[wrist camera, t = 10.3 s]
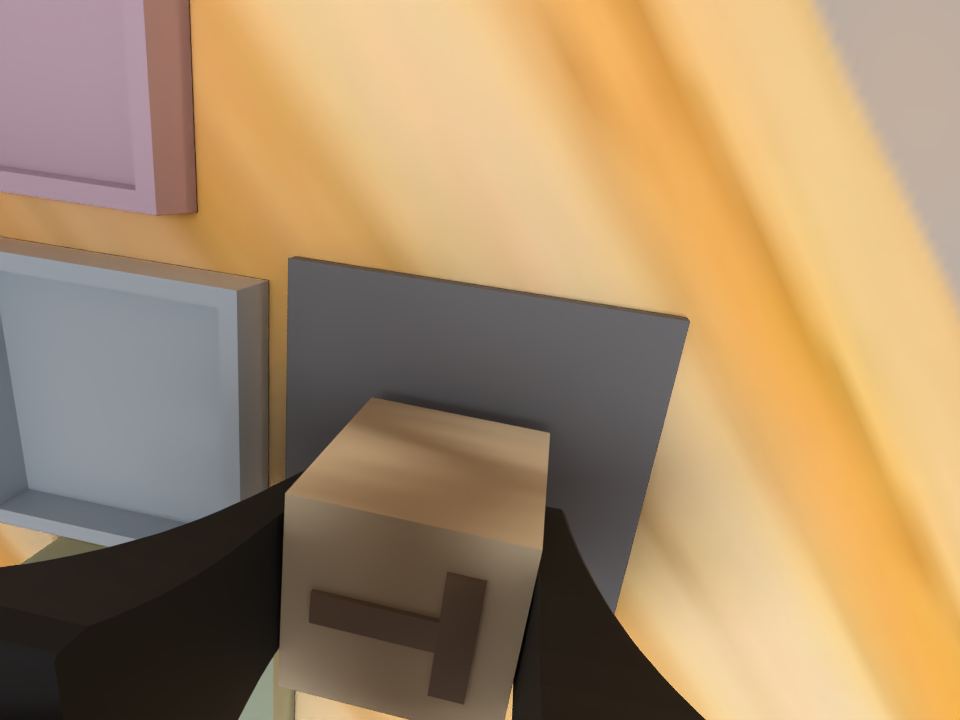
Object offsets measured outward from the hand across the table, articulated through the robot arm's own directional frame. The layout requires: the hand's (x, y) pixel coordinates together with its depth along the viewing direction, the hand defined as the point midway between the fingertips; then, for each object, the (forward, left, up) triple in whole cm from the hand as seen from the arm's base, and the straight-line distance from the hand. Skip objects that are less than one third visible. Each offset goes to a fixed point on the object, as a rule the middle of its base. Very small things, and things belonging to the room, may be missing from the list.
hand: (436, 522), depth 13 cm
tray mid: (-10, 0, -3) cm, 10 cm away
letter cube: (0, 0, -2) cm, 2 cm away
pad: (0, 0, -3) cm, 3 cm away
